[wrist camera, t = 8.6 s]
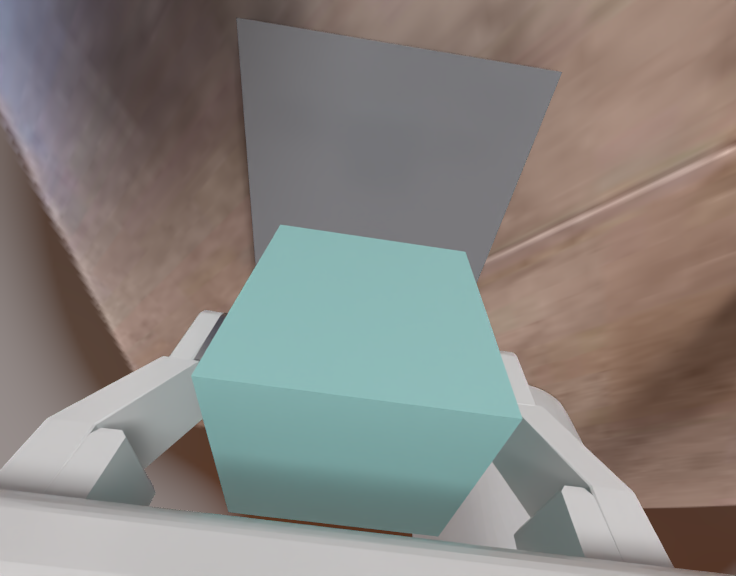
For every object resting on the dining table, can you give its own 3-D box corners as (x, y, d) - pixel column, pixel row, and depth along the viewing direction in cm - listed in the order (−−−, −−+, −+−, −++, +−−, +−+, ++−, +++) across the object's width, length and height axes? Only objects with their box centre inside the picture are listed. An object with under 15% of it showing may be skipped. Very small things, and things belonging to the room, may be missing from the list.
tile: (550, 69, 15) (562, 72, 14) (460, 302, 22) (463, 314, 21) (247, 18, 14) (236, 17, 13) (263, 273, 22) (257, 284, 21)
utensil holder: (477, 346, 25) (588, 755, 11) (616, 415, 29) (831, 783, 15) (374, 436, 33) (360, 737, 19) (493, 480, 37) (555, 758, 23)
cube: (465, 251, 9) (522, 418, 5) (422, 371, 12) (438, 536, 8) (280, 224, 9) (190, 375, 5) (283, 352, 12) (228, 512, 8)
